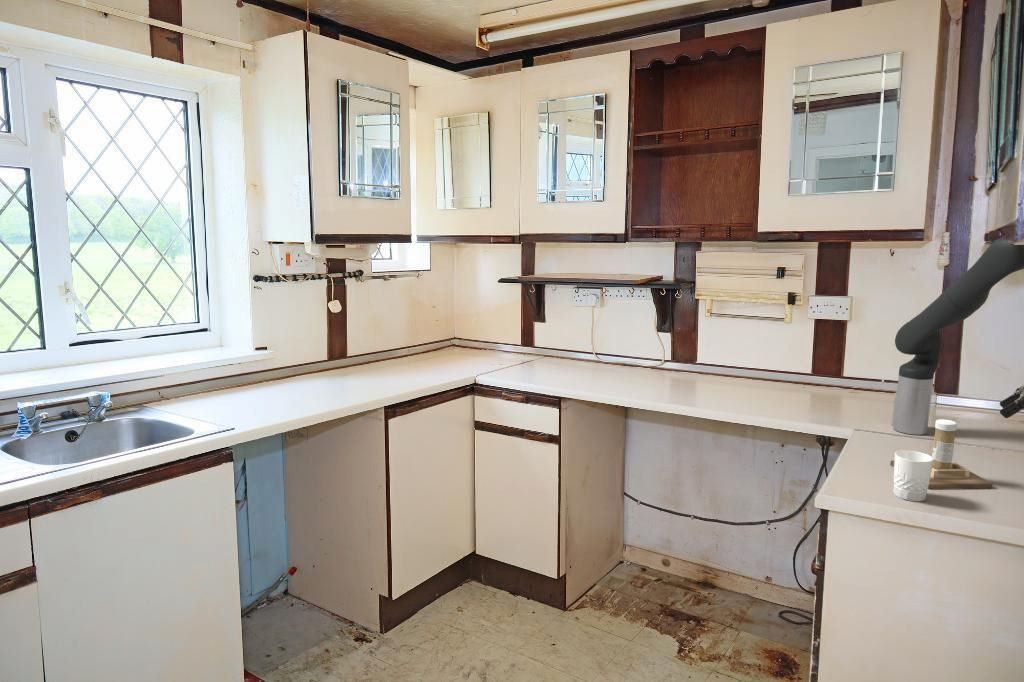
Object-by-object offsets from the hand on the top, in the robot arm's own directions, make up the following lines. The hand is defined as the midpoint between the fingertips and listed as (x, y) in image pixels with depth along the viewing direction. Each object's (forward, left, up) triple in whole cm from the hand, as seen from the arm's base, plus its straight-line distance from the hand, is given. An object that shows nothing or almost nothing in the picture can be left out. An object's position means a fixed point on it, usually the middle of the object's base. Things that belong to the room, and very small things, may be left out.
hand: (1002, 410), depth 165 cm
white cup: (+5, -24, -19) cm, 31 cm away
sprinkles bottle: (-6, -9, -18) cm, 21 cm away
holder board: (-7, -9, -19) cm, 22 cm away
